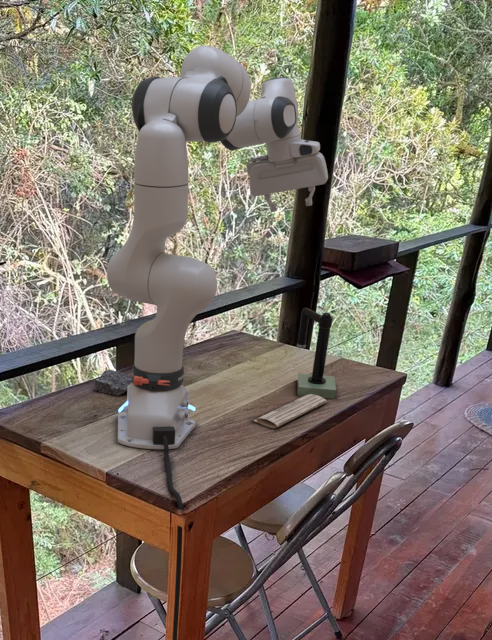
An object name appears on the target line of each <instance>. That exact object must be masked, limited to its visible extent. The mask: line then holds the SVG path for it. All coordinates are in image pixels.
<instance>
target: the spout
mask: <svg viewBox="0 0 492 640" xmlns="http://www.w3.org/2000/svg"><path fill="white" fill-rule="evenodd" d="M310 319H311V320H312V321H314V322H317V323H318V324H317V325H318V328H319V327H321V328H330V329H331V328H332V327H333V321H334V320H333V319H334V318H333V316H332V315H331V313H329V312H323V313H322V314H320V313H318V312H316V311H314V310H312V309H310V308H308V307H303V308H302V310H301V315H300V321H299V329H298V338H297V343H296V348H299V349H306V347H307V336H308V327H309V321H310Z"/></svg>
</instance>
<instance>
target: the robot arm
mask: <svg viewBox="0 0 492 640" xmlns="http://www.w3.org/2000/svg"><path fill="white" fill-rule="evenodd" d="M180 69H181V70H180V76H169V77H168V76H167V77H161V76H153V77H148V78H145V79H143V80H141V81H139V84H137V87H136V88H135V90H134V93H133V96H132V100H131V113H132V119H133V121H134V125H135V127H136V129H137V131H138V135H137V139H136V140H137V141H136V145H135V146H136V147H135V156H134V157H135V158H134V166H133V167H134V169H133V170H134V171H133V188H134V189H133V192H134V193H133V195H134V196H133V220H132V226H131V229H130V233H129V236H128V237H127V240H126V241H125V243H124V244H123V245H122V246H121V247H120V248H119V249H118V250H117V251H116V252H114V253H113V255H112V256H111V257H110V260H109V262H108V264H107V268H106V281H107V283H108V286H109V288H110V290H111V291H112V292H113V293H114V294H116V295H117V296H120V297H123V298H124V299H127V300H130V301H132V302H137V303H142V304H149V305H153V306H156V314H155V318H153V319H151V320H148V321H146V322H144V323H142V324H141V325H140V326H139V327H138V329H137V330H136V332H135V334H134V362H133V364H132V369H131V377H132V383H131V384H129V385H128V386H127V391H126V401H125V402H124V403H123V404H122V405H121V406H120V407H119V408H118V413H119V414H118V415H117V443H118V444H121V445H123V446H127V447H131V448H138V449H145V450H160V451H161V450H163V455H164V456H163V457H164V465H165V469H166V470H165V471H166V483H167V488H168V491H169V492H170V494H171V495H172V496H173V497H174V498H175V500H176V505H177V509H178V510H180V511H181V510H183V509H184V505H183V500H182V497H181V495H180V493H179V492H178V491H177V490H176V489H175V488H174V485H173V474H172V467H171V463H170V454H169V453H170V451H169V450H174V449H175V450H176V449H178V448H179V447H180V445H182V443H183V442H184V441H185V439H186V438H187V437H188V436H189V435H190V434H191V432H192V431H193V430H194V429H195V427H196V421H195V420H193V419H192V418H190V413H189V412H190V411H189V410H191V411H193V412H195V411H196V407H195V406H193V405H192V404H190V391H189V390H188V389H187V388H186V387H185V385H184V384H183V383H184V377H185V367H184V365H183V357H184V347H185V346H184V345H185V339H186V333H187V331H188V328H189V326H190V324H191V323H192V321H193V320H194V318H195V317H196V316H197V315H198V314H200V313H201V312H202V311H204V310H205V309H207V308H208V307H209V306H210V305H211V303H213V300H214V299H215V296H216V294H217V290H218V279H217V275H216V272H215V270H214V267H213V266H212V265H211V264H209V263H206V262H204V261H202V260H199V259H196V258H194V257H190V256H186V255H185V256H184V255H180V254H174V253H167V252H166V251H165V248H166V243H167V242H166V241H167V239H168V238H170V237H173V236H174V235H176V234H178V233H179V232H181V231H182V230H183V229H184V227H185V226H186V224H187V221H188V218H189V216H188V215H189V158H188V150H187V143H188V142H190V143H191V142H192V143H196V142H202V143H203V142H205V143H207V144H211V143H212V144H213V143H219V142H220V143H221V145H222V146H223V147H224V148H226V149H227V150H228V151H231V152H233V151H238V150H240V149H244V148H247V147H253V146H257V145H263V144H264V145H265V146H266V154H263V155H259V156H253V157H250V159H249V160H248V161H247V162H246V174H247V175H248V176H249V180H248V181H249V193H250V195H251V196H253V197H260V196H263V197H264V200H265V202H266V203H267V204H268V206H269V210H270V213H274V212H275V213H276V212H277V211H278V206H277V205H278V204H277V203H275V202H273V201H272V200H271V198H272V194H276V193H283V192H288V191H294V190H298V189H299V190H300V189H304V188H307V189H308V192H310V193H309V196H308V197H306V198H305V199H304V202H305V206H306V207H310V206H312V205H313V196H314V193H315V191H316V186H320V185H321V186H322V185H325V184H326V183H327V181H328V180H329V173H328V168H327V163H326V158H325V156H324V155H323V153H321V152H320V150H321V144H320V142H319V141H314V140H307V139H303V138H302V135H301V131H300V128H299V107H298V101H297V96H296V90H295V87H294V83H293V81H292V78H289V77H287V76H281V77H273V78H269V79H267V80H265V81H263V82H262V83H261V86H260V88H261V89H260V98H257V99H252V100H250V99H251V94H252V93H251V92H252V83H251V78H250V75H249V73H248V71H247V69H246V67H244V65H243V64H241V62H239V61H238V60H237V59H236V58H234V57H233V56H232V55H231V54H228V53H227V52H225V51H224V50H222V49H219V48H217V47H214V46H211V45H204V44H203V45H198V46H196V47H194V48H193V49H191V50H190V51H189V52H188V53H187V54H186V56H185V58H184V59H183V61H182V65H181V67H180ZM122 411H123V413H121V412H122ZM176 530H177V531H176V562H175V563H176V564H175V586H174V587H175V588H174V605H173V606H174V607H173V623H172V640H178V632H179V615H180V600H181V599H180V597H181V579H182V578H181V577H182V558H183V557H182V552H183V527H182V526H180V525H177V529H176Z"/></svg>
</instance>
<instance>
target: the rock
mask: <svg viewBox="0 0 492 640" xmlns="http://www.w3.org/2000/svg"><path fill="white" fill-rule="evenodd" d="M131 383H132V376H129V375H128V373H124V372H121V371H117V370H113V369H109V370H104V371H103V372H102V374H101V375H100V376H99V377H98V378H96V379H95V380H94V390H95V391H97V392H100V393H104V394H109V395H114V396H120V395H123V394H124V393H125V392H126V393H127V386H128V385H129V384H131Z"/></svg>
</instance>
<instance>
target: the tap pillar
mask: <svg viewBox="0 0 492 640" xmlns="http://www.w3.org/2000/svg"><path fill="white" fill-rule="evenodd" d="M330 333H331V328H321V327H319V326H318V330H317V339H316V343H315V352H314V359H313V365H312V372H311V374H312V377H309V378H308V382H310V383H313V384H324V383H326V379H324V378H323V375H324V374H325V367H326V360H327V354H328V348H329V347H328V346H329V341H330Z"/></svg>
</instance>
